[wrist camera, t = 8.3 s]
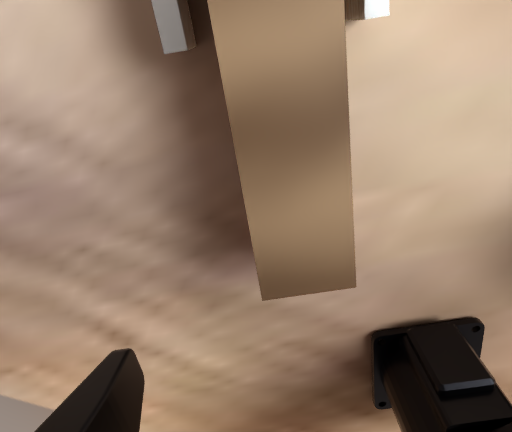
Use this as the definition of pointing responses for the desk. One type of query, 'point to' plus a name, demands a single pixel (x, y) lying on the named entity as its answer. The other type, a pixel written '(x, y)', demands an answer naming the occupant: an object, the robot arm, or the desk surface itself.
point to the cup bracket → (181, 30)
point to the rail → (290, 138)
